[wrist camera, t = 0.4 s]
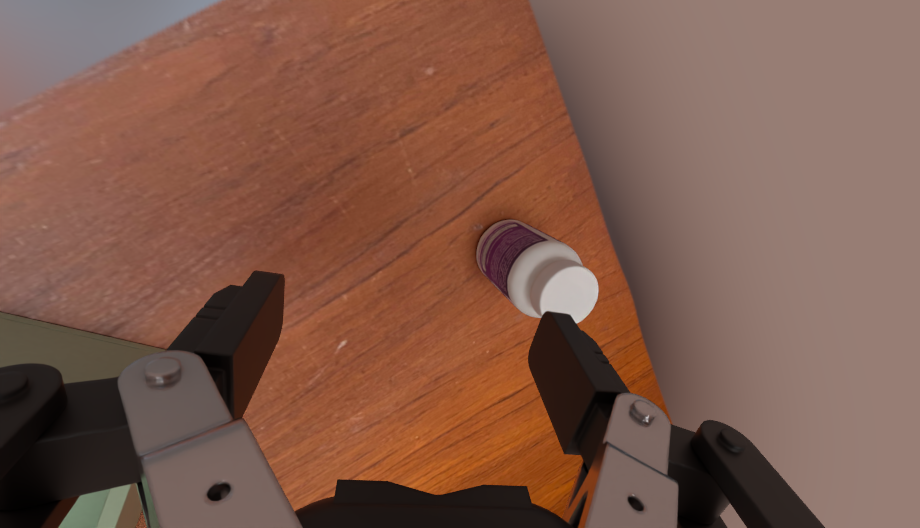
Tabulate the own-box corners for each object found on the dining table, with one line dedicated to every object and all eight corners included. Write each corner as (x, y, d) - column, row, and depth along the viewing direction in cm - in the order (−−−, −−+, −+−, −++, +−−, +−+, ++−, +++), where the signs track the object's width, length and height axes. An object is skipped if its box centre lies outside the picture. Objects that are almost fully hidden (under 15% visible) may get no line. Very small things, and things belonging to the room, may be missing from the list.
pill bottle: (470, 281, 32) (521, 341, 23) (478, 217, 30) (535, 255, 21) (530, 280, 33) (599, 336, 25) (540, 219, 32) (617, 255, 23)
